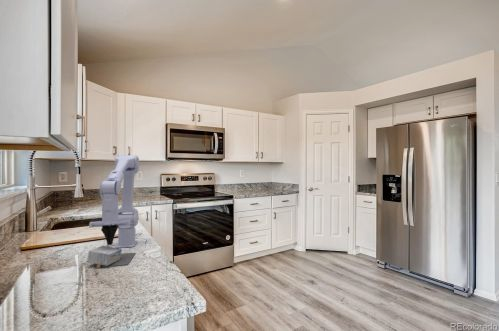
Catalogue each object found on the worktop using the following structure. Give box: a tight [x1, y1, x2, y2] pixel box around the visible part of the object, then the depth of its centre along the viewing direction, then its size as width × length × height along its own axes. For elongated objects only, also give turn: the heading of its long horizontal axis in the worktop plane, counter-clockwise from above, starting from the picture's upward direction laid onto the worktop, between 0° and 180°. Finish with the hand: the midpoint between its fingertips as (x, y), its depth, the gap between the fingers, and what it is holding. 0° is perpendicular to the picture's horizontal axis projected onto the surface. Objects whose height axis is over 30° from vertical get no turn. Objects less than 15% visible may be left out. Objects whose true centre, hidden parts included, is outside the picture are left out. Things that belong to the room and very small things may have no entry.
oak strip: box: [96, 264, 103, 270], centre depth 100 cm, size 14×1×1 cm, turn 13°
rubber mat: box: [101, 252, 137, 268], centre depth 102 cm, size 14×9×1 cm, turn 13°
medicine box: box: [86, 245, 123, 266], centre depth 98 cm, size 8×4×9 cm
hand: (110, 244), depth 100 cm, fingers closed
